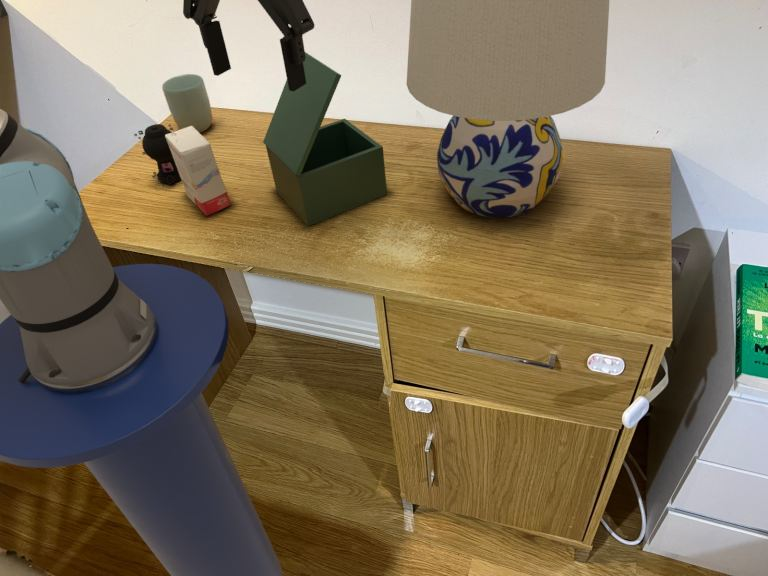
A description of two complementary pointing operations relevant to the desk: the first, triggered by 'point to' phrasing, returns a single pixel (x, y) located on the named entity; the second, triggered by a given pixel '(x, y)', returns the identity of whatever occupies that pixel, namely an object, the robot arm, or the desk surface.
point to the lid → (301, 115)
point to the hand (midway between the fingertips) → (259, 79)
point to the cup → (188, 101)
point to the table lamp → (504, 90)
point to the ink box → (198, 170)
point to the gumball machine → (160, 152)
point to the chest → (333, 173)
